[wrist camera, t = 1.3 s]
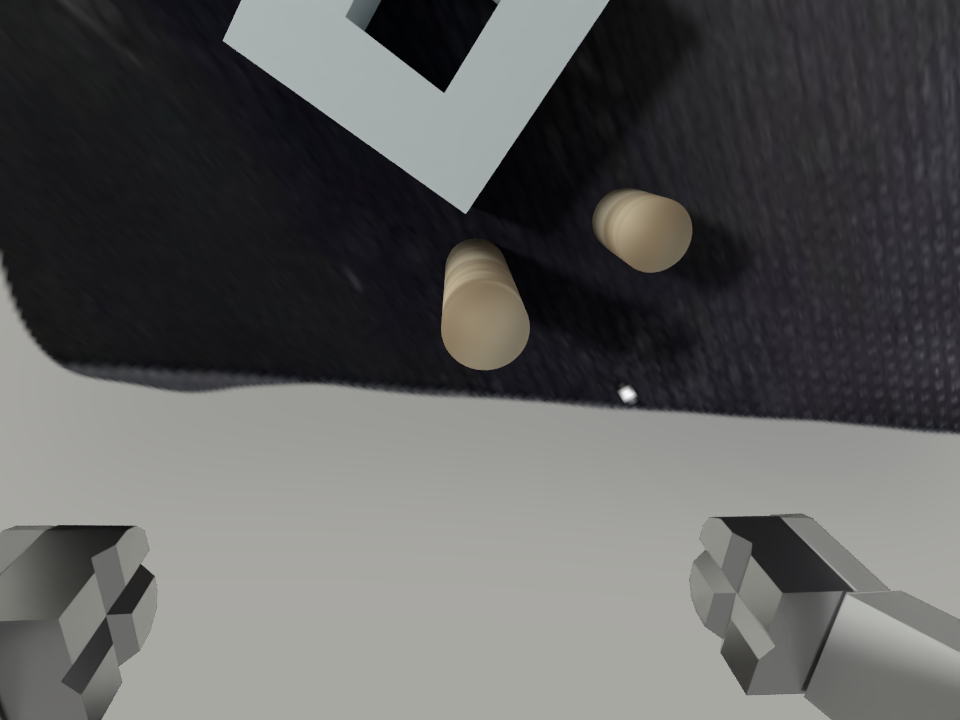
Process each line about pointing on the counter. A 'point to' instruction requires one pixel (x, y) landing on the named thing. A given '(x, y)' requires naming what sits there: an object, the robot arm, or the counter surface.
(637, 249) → the short pin
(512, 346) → the tall pin
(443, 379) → the counter surface
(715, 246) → the counter surface
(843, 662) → the robot arm
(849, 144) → the counter surface
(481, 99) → the hole board
